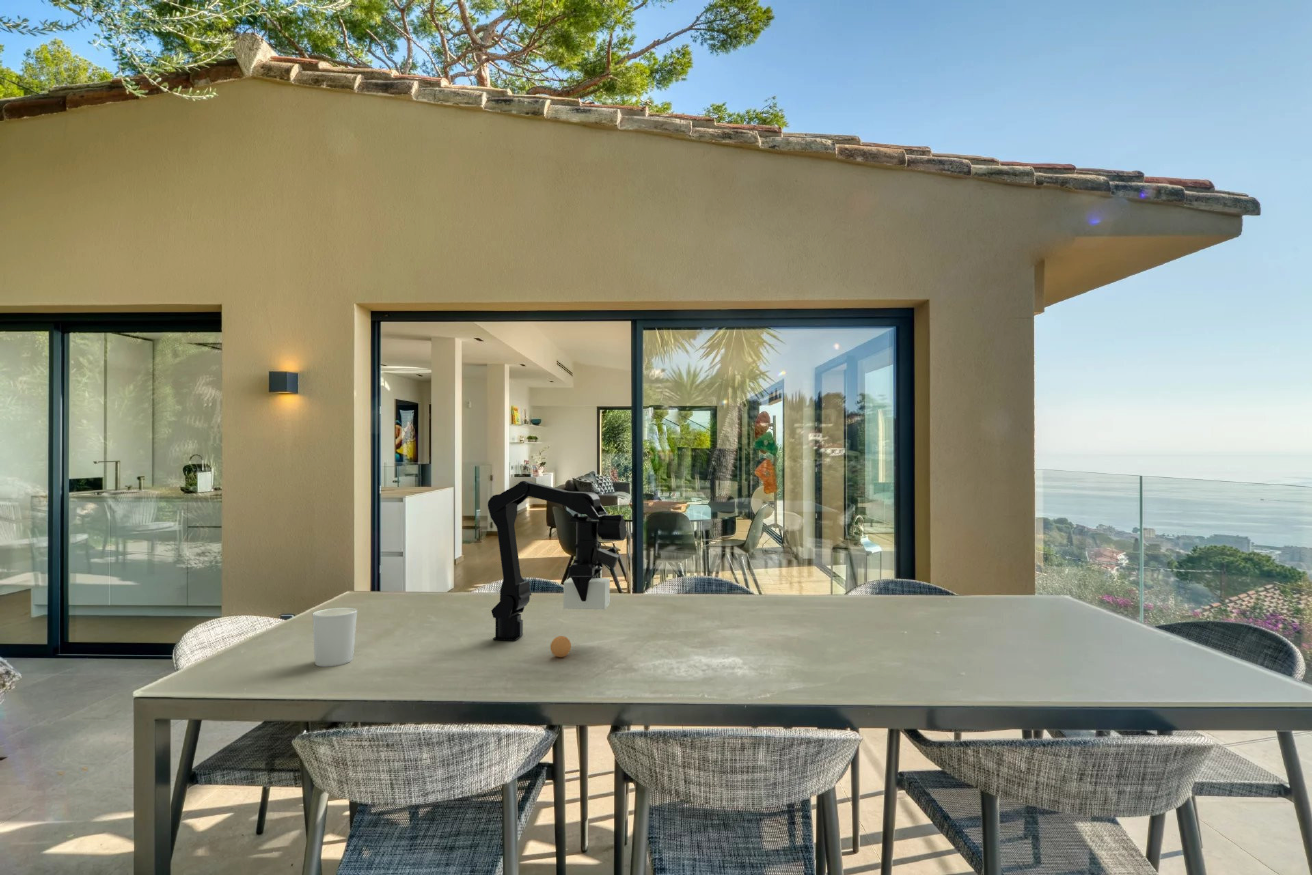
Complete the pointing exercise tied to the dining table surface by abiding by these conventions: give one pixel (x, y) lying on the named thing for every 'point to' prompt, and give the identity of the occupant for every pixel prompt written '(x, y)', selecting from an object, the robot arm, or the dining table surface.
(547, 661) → the dining table surface
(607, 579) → the pale white box
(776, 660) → the dining table surface
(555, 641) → the ball
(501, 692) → the dining table surface
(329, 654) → the candle holder
